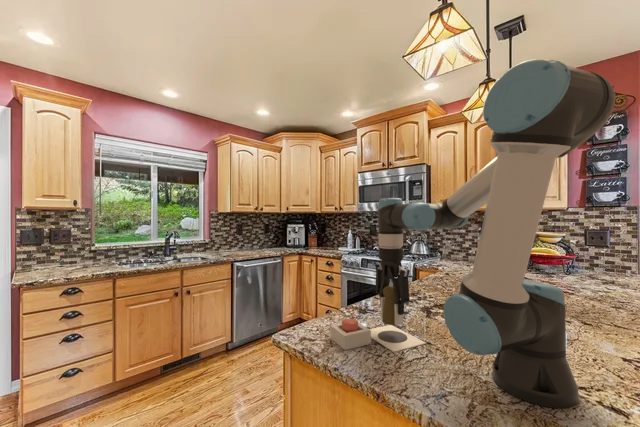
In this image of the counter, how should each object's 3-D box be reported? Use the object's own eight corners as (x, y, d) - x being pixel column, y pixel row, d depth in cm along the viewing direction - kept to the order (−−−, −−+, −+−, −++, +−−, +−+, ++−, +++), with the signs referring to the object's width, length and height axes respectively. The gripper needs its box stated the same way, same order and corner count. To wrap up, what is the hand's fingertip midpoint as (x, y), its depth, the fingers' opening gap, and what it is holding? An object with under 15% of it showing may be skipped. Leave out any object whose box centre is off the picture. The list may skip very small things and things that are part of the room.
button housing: (370, 343, 85) (370, 330, 85) (344, 350, 81) (344, 335, 81) (354, 332, 93) (354, 320, 93) (330, 338, 89) (330, 325, 89)
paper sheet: (426, 343, 84) (426, 342, 84) (394, 352, 79) (394, 351, 79) (391, 325, 99) (391, 324, 99) (362, 331, 94) (362, 330, 94)
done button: (361, 333, 86) (361, 323, 86) (347, 336, 84) (347, 326, 84) (352, 327, 90) (352, 317, 90) (339, 330, 88) (338, 320, 88)
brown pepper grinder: (402, 325, 86) (402, 289, 86) (382, 324, 87) (381, 288, 87) (401, 318, 91) (400, 284, 92) (381, 317, 93) (381, 283, 93)
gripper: (422, 249, 82) (423, 329, 82) (381, 244, 99) (382, 309, 99) (402, 251, 79) (403, 334, 79) (363, 245, 96) (364, 313, 96)
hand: (391, 320), depth 89 cm, fingers closed on brown pepper grinder, 6 cm apart
